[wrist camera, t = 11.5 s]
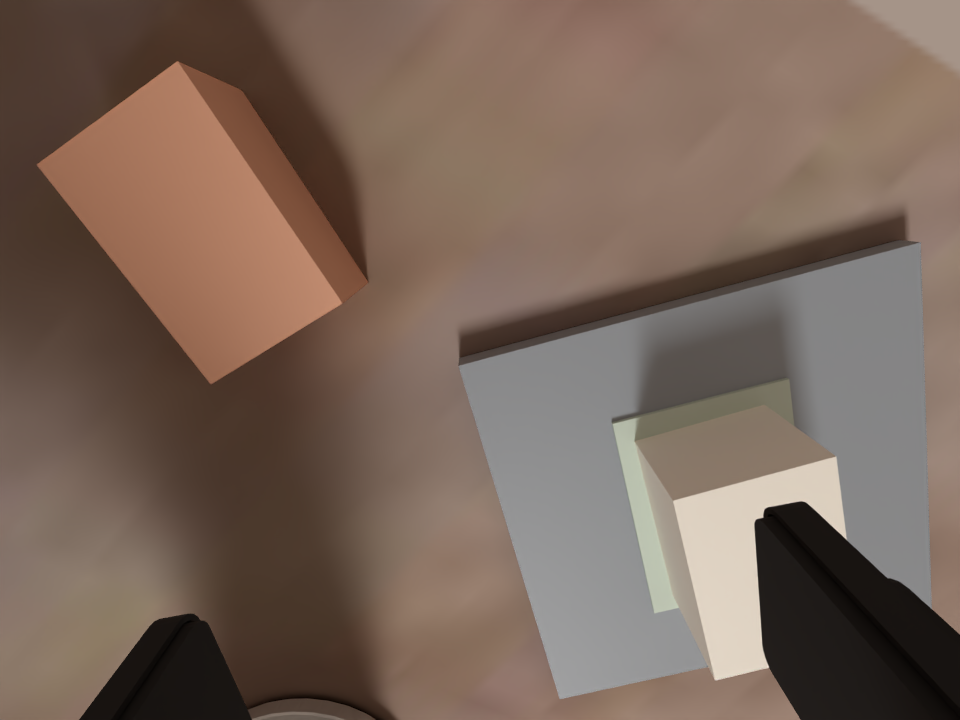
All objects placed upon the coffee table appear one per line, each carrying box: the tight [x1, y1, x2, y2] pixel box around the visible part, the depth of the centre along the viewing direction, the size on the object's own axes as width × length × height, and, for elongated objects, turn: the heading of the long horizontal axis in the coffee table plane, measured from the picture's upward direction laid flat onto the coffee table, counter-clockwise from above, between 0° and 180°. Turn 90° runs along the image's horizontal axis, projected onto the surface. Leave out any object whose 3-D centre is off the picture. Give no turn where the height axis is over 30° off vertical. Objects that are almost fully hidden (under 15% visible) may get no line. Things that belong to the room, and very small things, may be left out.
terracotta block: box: [37, 61, 368, 384], centre depth 21 cm, size 9×6×5 cm, turn 31°
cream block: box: [634, 405, 847, 680], centre depth 23 cm, size 9×6×5 cm, turn 17°
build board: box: [459, 240, 932, 699], centre depth 26 cm, size 20×20×1 cm
